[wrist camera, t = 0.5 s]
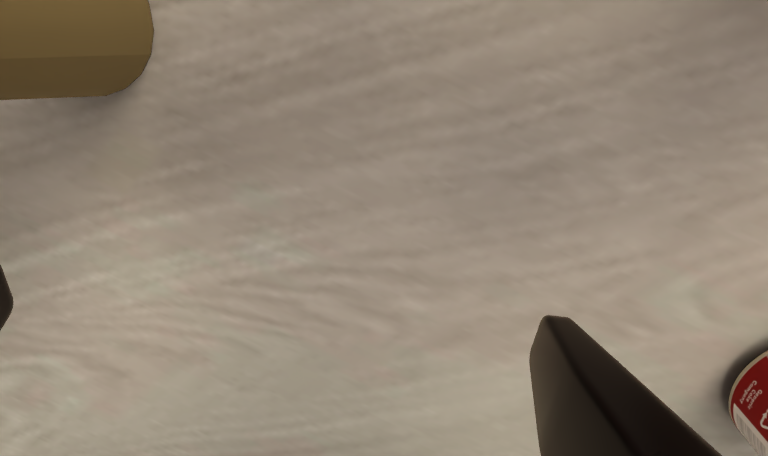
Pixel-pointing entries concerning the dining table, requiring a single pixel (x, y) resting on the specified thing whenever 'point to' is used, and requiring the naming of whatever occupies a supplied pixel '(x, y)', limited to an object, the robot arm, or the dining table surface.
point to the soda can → (752, 403)
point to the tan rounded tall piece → (72, 47)
